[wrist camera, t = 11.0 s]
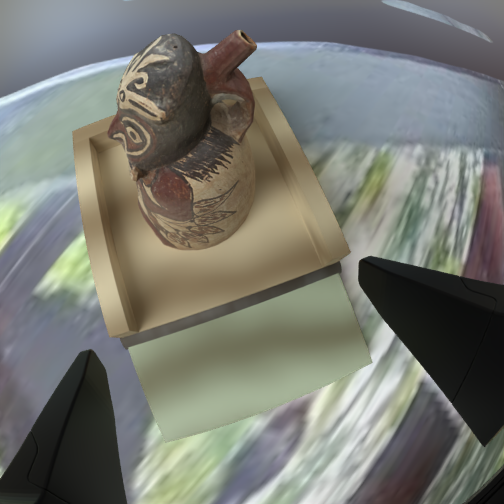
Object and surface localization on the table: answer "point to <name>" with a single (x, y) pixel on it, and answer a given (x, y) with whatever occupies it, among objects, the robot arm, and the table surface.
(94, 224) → the shallow wooden tray
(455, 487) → the table surface
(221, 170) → the figurine
